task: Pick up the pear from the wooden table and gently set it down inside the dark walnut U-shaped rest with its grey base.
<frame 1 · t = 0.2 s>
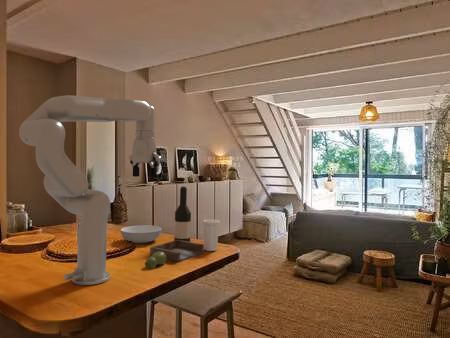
hand: (144, 176, 138), 36 cm above the kitchen island, tool pointing down, fingers open, 9 cm apart
cup: (210, 250, 163), on the kitchen island
wine bottle: (182, 245, 171), on the kitchen island
pear: (155, 266, 136), on the kitchen island
rest: (178, 254, 153), on the kitchen island
serving bowl: (141, 241, 176), on the kitchen island
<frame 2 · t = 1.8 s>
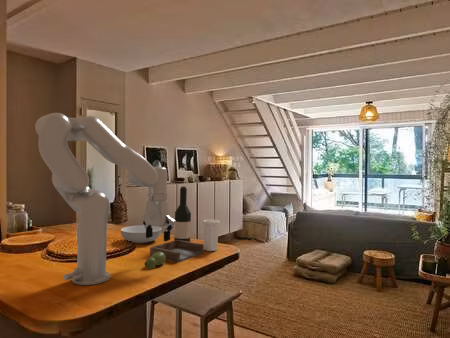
hand: (157, 239, 136), 11 cm above the kitchen island, tool pointing down, fingers open, 9 cm apart
nothing on the kitchen island moved.
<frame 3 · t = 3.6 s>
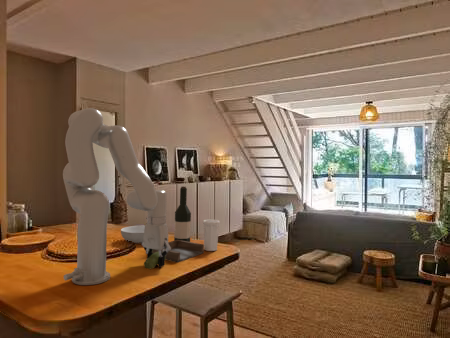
hand: (155, 264, 136), 1 cm above the kitchen island, tool pointing down, fingers closed on pear, 5 cm apart
pear: (154, 266, 135), on the kitchen island, touching gripper
everything else where it was.
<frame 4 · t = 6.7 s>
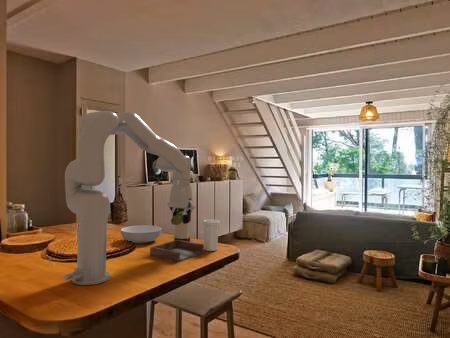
hand: (180, 222, 152), 15 cm above the kitchen island, tool pointing down, fingers closed on pear, 5 cm apart
pear: (179, 224, 151), point 14 cm above the kitchen island, touching gripper
everything else where it was.
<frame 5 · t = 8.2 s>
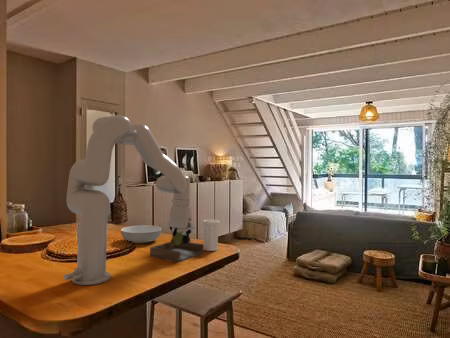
hand: (180, 242, 152), 6 cm above the kitchen island, tool pointing down, fingers closed on pear, 5 cm apart
pear: (179, 243, 152), point 5 cm above the kitchen island, touching gripper
everything else where it was.
when the fingers open (3 cm above the kitchen island, at t = 9.6 s): pear drops 2 cm, resting on rest.
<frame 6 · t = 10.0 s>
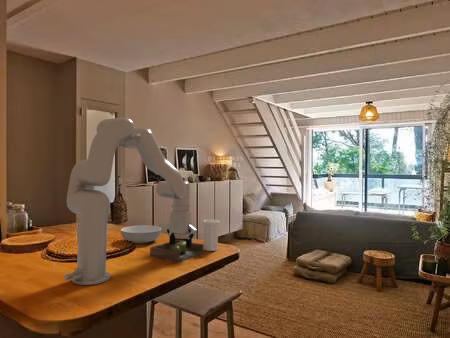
hand: (180, 245, 152), 4 cm above the kitchen island, tool pointing down, fingers open, 9 cm apart
pear: (178, 254, 151), point 1 cm above the kitchen island, touching rest
everything else where it was.
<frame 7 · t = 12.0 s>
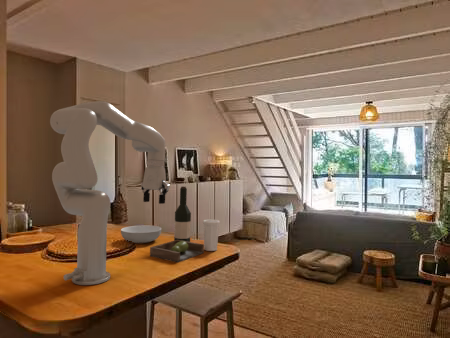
hand: (154, 202, 149), 24 cm above the kitchen island, tool pointing down, fingers open, 9 cm apart
nothing on the kitchen island moved.
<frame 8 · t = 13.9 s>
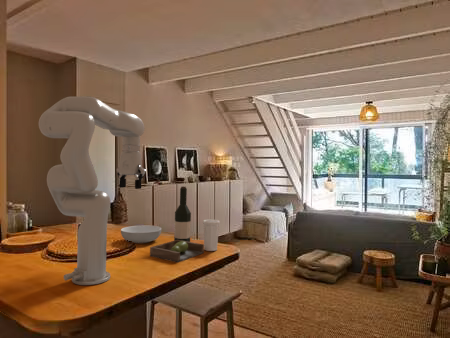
hand: (130, 188, 148), 30 cm above the kitchen island, tool pointing down, fingers open, 9 cm apart
nothing on the kitchen island moved.
at the end: pear inside the target area on the rest (1.1 cm from its centre), point 0.6 cm above the rest's base; the gripper is holding nothing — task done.
